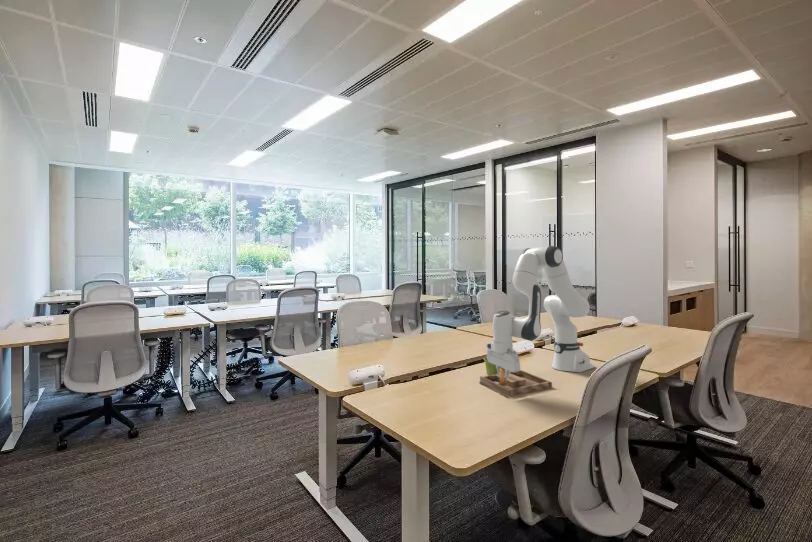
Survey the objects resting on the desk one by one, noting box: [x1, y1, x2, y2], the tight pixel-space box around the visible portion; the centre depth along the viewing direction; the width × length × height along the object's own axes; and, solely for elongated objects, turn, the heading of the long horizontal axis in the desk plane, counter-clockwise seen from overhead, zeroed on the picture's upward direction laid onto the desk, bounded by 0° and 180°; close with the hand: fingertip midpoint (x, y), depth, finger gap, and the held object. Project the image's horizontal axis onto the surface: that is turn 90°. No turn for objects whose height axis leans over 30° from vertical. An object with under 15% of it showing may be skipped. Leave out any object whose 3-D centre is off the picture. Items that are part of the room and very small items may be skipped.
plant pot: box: [483, 356, 498, 376], centre depth 204 cm, size 9×9×9 cm
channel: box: [478, 369, 553, 399], centre depth 187 cm, size 25×22×3 cm
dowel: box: [500, 367, 507, 386], centre depth 183 cm, size 3×3×8 cm
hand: (503, 376), depth 183 cm, fingers closed on dowel, 3 cm apart
